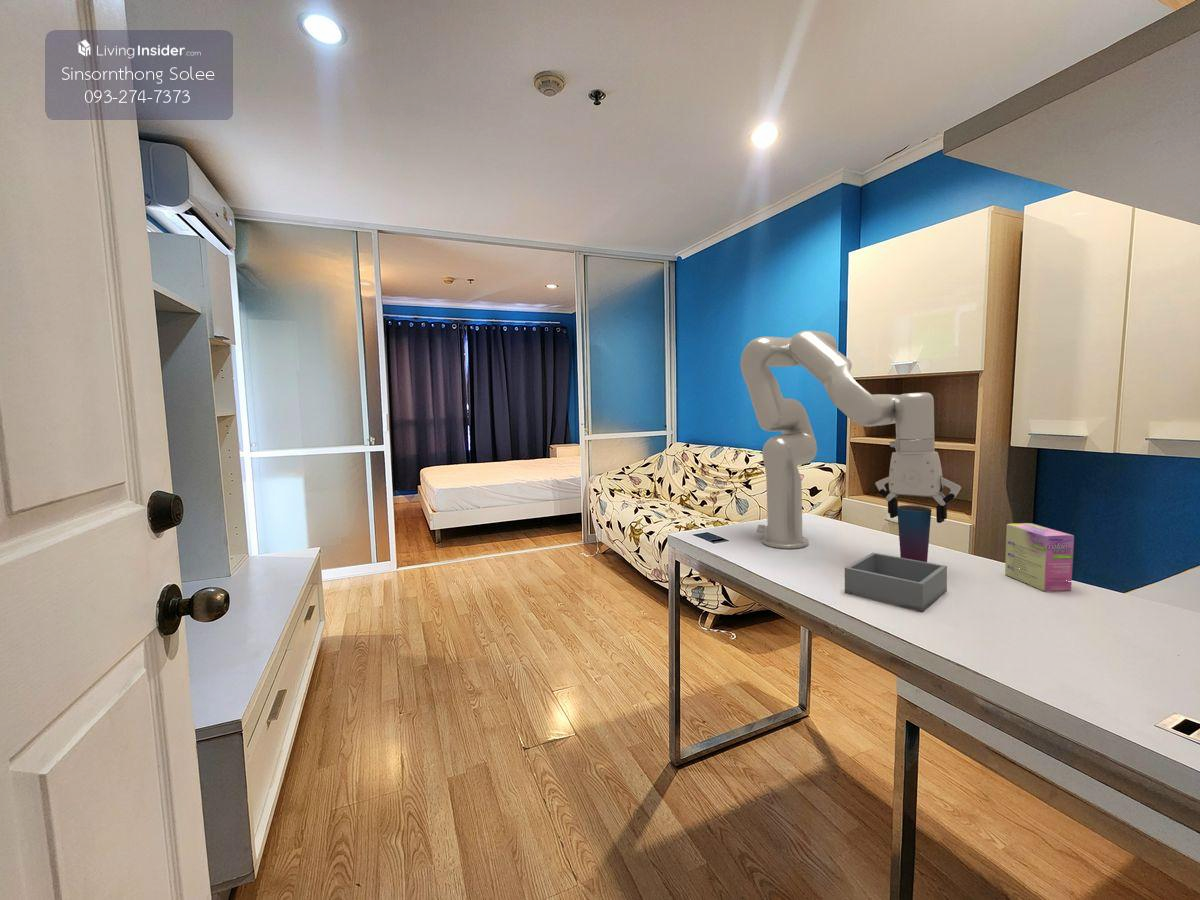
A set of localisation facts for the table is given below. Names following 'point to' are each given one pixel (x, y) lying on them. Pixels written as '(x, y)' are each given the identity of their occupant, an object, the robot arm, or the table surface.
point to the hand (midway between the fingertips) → (916, 519)
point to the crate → (896, 581)
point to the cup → (914, 531)
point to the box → (1039, 556)
